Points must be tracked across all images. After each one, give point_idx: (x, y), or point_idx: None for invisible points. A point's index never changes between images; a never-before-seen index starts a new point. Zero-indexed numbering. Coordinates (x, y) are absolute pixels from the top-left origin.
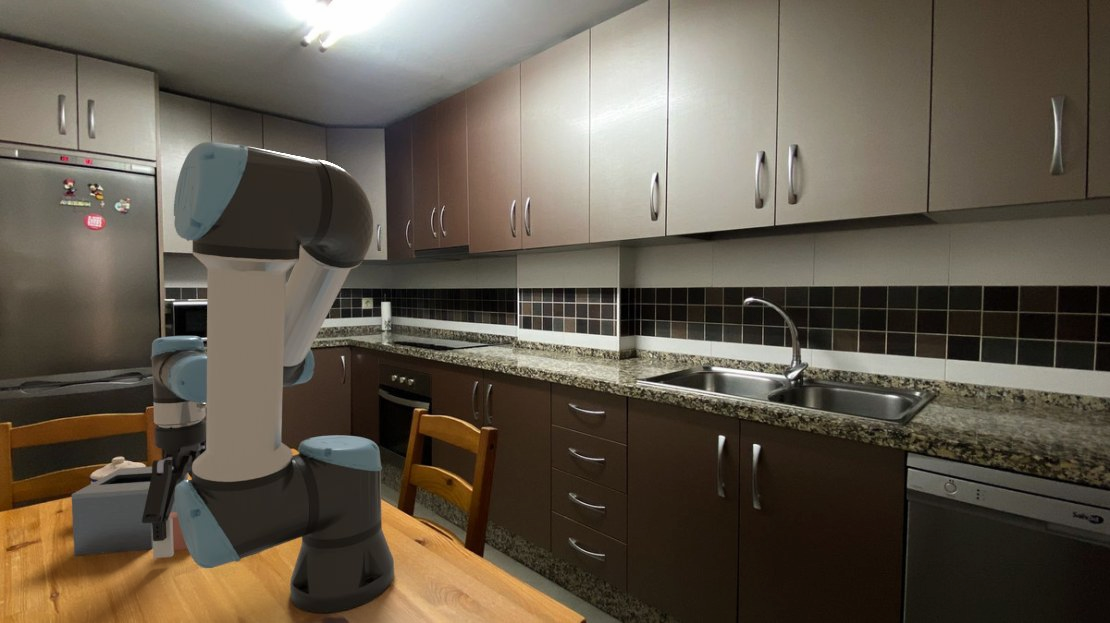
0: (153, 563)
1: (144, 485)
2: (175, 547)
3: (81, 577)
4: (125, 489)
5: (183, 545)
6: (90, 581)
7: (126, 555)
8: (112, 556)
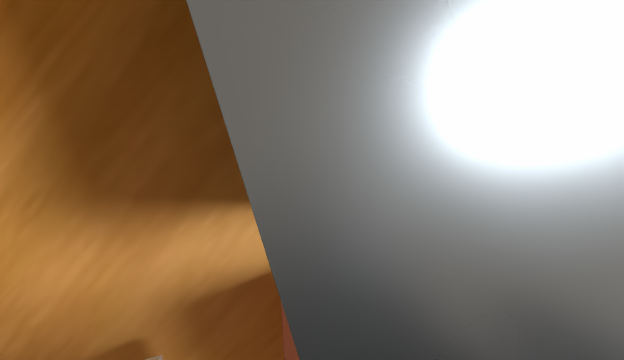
0: (184, 305)
1: (604, 294)
2: None
3: (25, 103)
4: (318, 11)
5: None
6: (8, 176)
7: None
8: None
